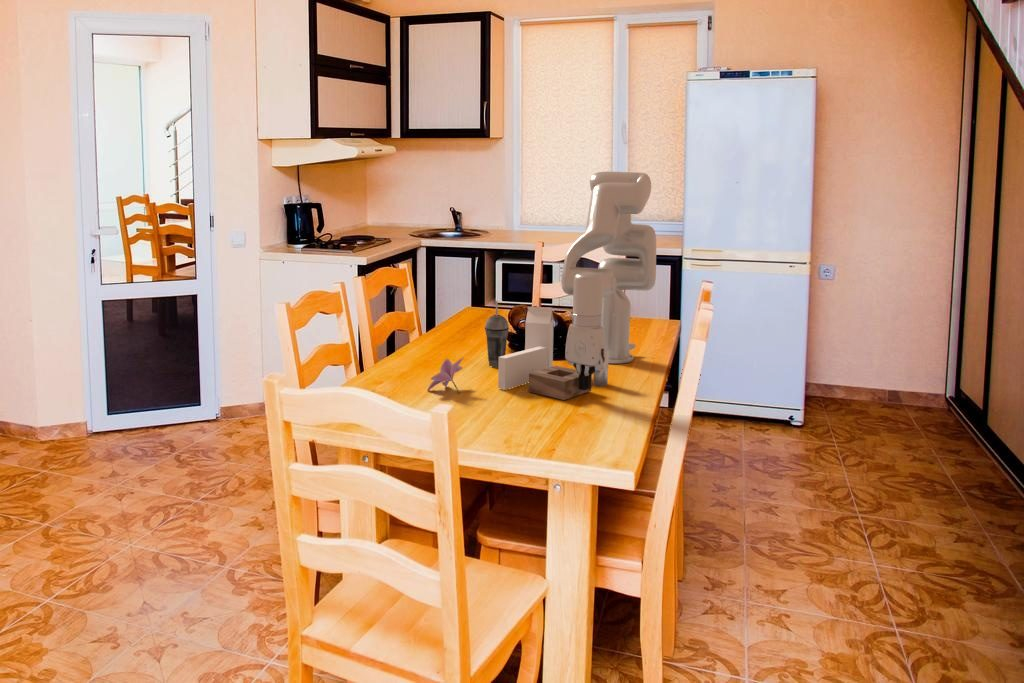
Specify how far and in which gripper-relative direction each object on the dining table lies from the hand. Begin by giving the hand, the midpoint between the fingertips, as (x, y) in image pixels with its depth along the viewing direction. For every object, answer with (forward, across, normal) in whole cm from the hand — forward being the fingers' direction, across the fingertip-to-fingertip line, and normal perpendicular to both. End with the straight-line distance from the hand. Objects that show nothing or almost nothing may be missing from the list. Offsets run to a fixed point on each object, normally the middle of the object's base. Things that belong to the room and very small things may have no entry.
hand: (584, 388), depth 235 cm
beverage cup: (+3, -40, +10) cm, 41 cm away
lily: (+3, -32, -19) cm, 37 cm away
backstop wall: (+3, -21, 0) cm, 21 cm away
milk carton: (+3, -26, +14) cm, 30 cm away
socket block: (+3, -8, 0) cm, 9 cm away
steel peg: (+3, -4, +14) cm, 15 cm away
